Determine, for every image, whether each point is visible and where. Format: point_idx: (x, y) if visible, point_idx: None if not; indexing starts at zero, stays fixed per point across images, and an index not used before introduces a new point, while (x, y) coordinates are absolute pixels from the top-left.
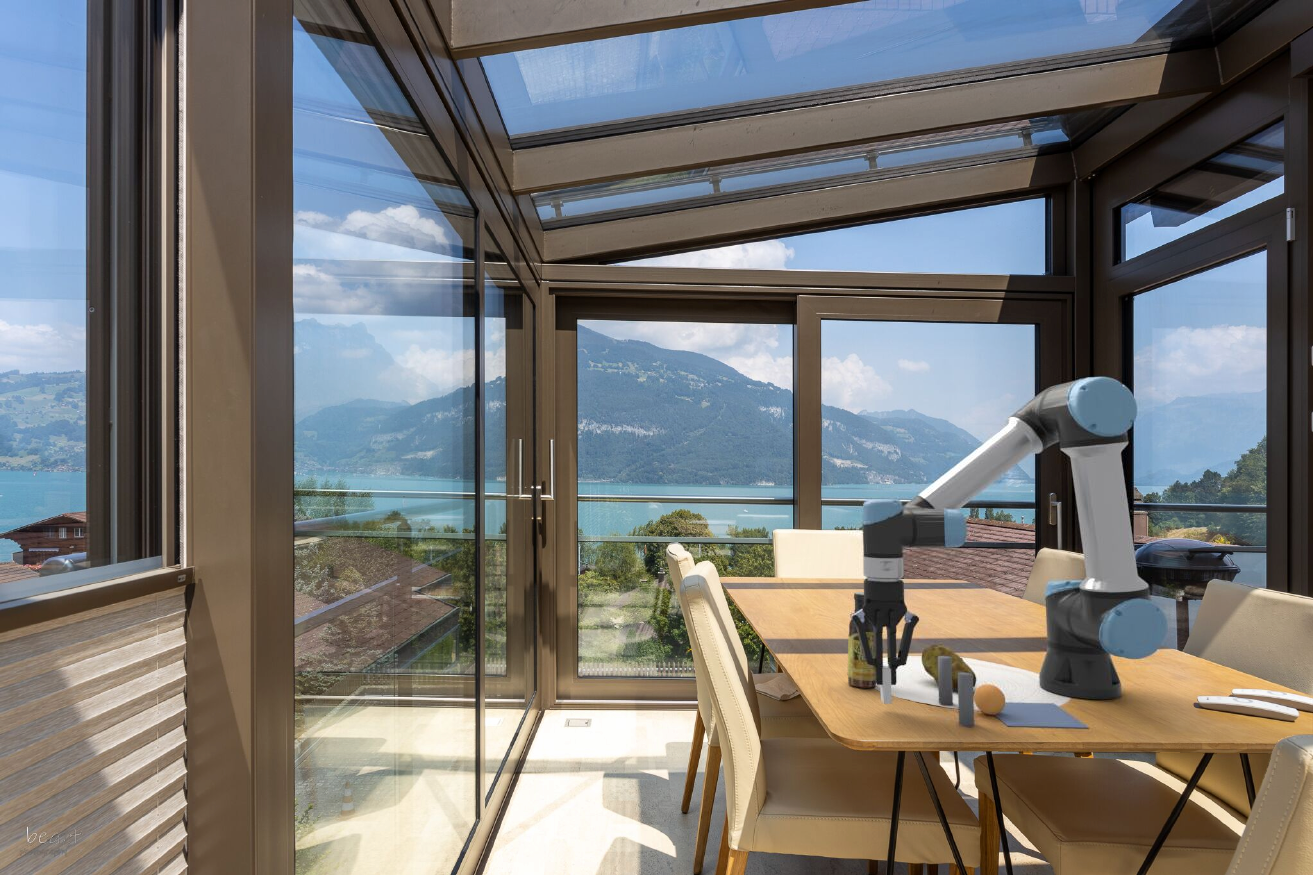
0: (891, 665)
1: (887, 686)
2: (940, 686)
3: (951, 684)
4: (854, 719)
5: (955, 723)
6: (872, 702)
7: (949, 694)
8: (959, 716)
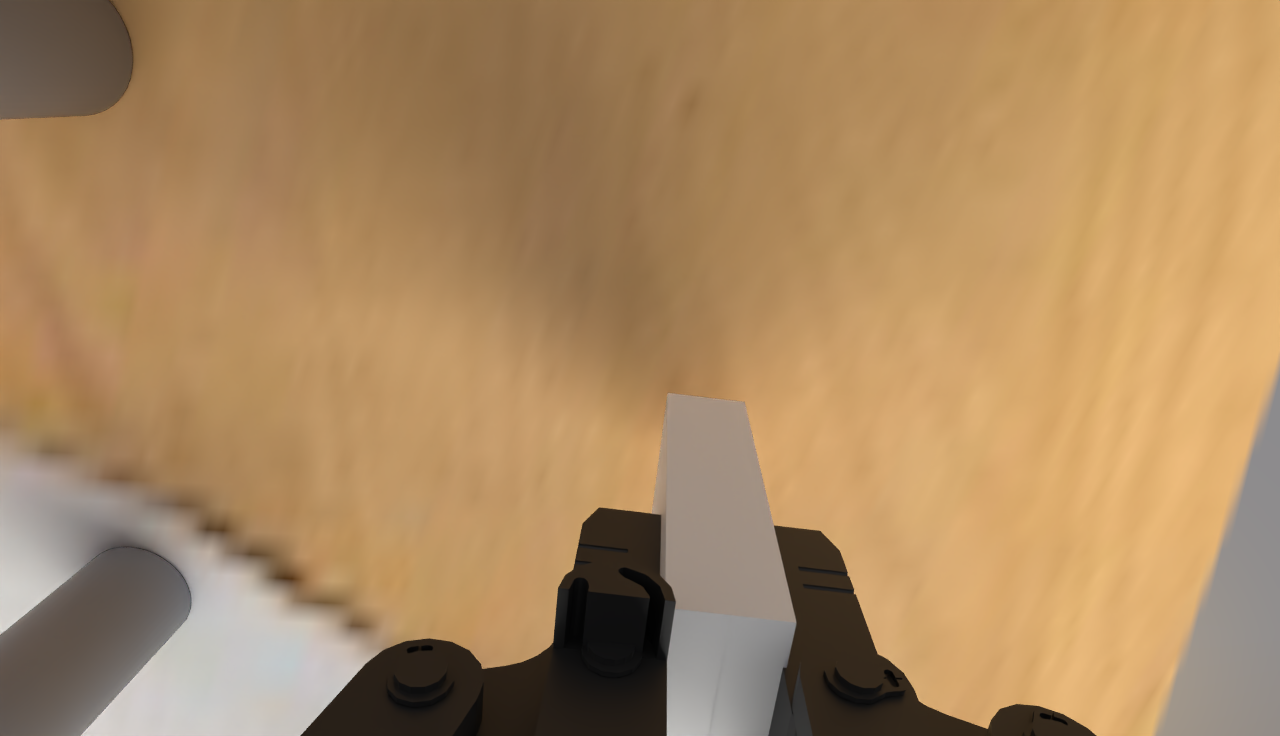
0: (649, 657)
1: (711, 479)
2: (81, 675)
3: None
4: (1074, 228)
5: (165, 75)
6: None
7: (53, 600)
8: (77, 36)
